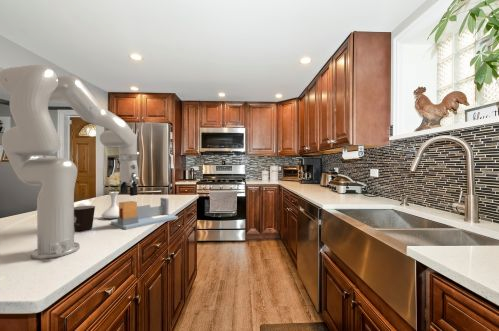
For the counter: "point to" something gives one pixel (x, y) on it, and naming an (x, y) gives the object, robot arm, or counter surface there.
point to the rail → (146, 216)
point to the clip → (127, 209)
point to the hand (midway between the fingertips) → (128, 194)
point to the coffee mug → (83, 218)
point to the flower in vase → (113, 198)
